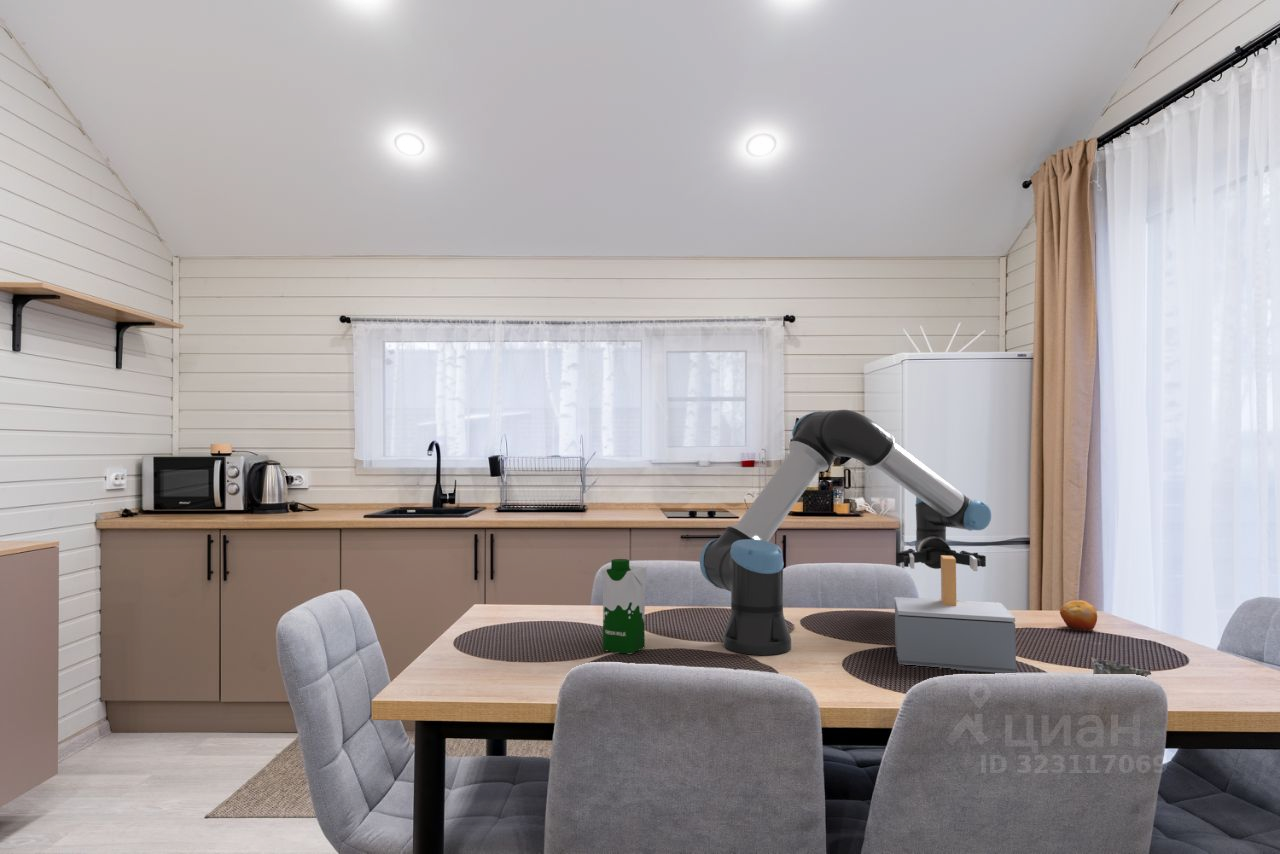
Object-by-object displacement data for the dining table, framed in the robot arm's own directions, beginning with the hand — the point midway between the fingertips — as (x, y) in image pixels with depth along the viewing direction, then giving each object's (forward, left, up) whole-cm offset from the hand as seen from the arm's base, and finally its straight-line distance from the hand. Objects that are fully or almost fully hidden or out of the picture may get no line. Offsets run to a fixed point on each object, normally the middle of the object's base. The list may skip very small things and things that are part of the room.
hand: (943, 563), depth 172 cm
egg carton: (+29, -22, -19) cm, 41 cm away
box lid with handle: (0, -14, -7) cm, 16 cm away
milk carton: (-69, -27, -18) cm, 76 cm away
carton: (0, -14, -18) cm, 23 cm away
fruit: (+34, +26, -18) cm, 47 cm away
